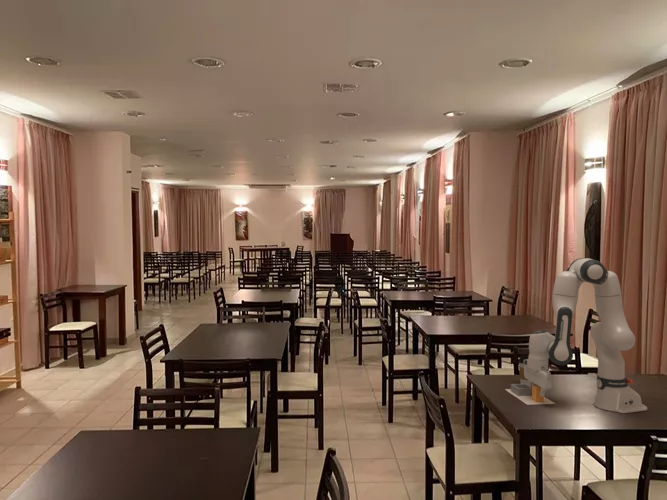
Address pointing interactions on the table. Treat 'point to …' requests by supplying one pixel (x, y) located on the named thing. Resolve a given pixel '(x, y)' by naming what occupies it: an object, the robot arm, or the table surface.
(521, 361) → the coffee cup
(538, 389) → the plug
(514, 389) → the white board with socket
